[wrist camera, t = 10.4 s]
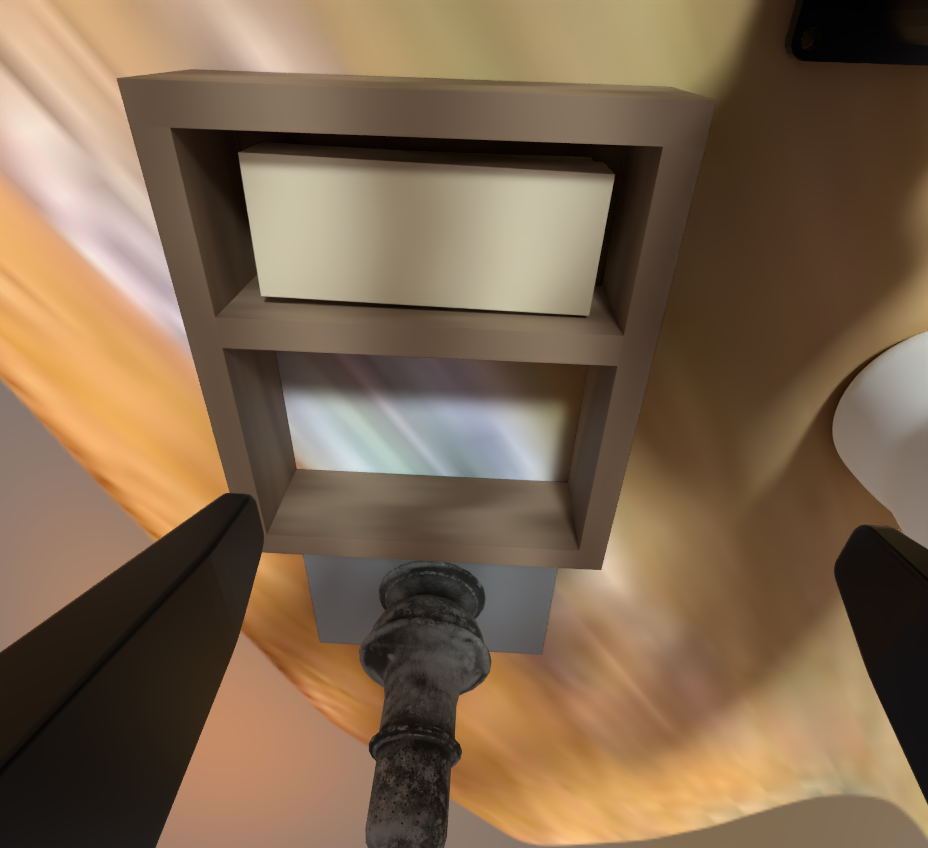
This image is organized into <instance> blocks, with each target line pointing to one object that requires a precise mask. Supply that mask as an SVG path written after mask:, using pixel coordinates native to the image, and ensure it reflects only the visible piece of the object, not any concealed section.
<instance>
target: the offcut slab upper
mask: <svg viewBox="0 0 928 848" xmlns="http://www.w3.org/2000/svg"><path fill="white" fill-rule="evenodd" d="M238 155H239V162H240V168H241V174H242V180H243V187H244V193H245V199H246V205H247V211H248V218H249V224H250V230H251V236H252V243H253V249H254V255H255V261H256V267H257V274H258V280H259V286H260V292H261V296H269V297H285V298H302V299H319V300H335V301H352V302H369V303H385V304H402V305H419V306H435V307H452V308H469V309H485V310H502V311H519V312H535V313H552V314H569V315H585V316H589V313H590V308H591V302H592V297H593V291H594V286H595V281H596V275H597V270H598V264H599V259H600V253H601V248H602V243H603V237H604V232H605V226H606V221H607V215H608V210H609V205H610V199H611V194H612V188H613V183H614V178H615V174H614V173H613V172H612V171H611V170H610V169H609V168H608V166H607V165H606V164H605V163H604V162H590V161H573V160H556V159H539V158H522V157H505V156H488V155H471V154H454V153H437V152H420V151H403V150H386V149H369V148H352V147H335V146H319V145H302V144H285V143H268V142H260V143H257V144H255V145H253V146H251V147H249V148H246V149H244V150H242V151H240V152H238Z"/></svg>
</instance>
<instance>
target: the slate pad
mask: <svg viewBox="0 0 928 848" xmlns="http://www.w3.org/2000/svg"><path fill="white" fill-rule="evenodd" d="M303 556H304V561H305V567H306V572H307V577H308V582H309V587H310V593H311V598H312V603H313V608H314V614H315V619H316V624H317V629H318V635H319V640H320V642H323V643H341V644H360V645H362V643H363V640H364V639H365V638H366V637H367V636H368V635H369V634H370V633H371V631H372V629H373V626H374V624H375V623H376V622H377V620H378V619H379V617H380V616H381V615H382V613H383V612H384V611H385V609H384V608H383V607H382V604H381V602H380V599H379V587H380V585H381V582H382V580H383V578H384V577H385V576H386V575H387V574H388V573H389V572H390V571H391V570H393V569H395V568H396V567H398V566H400V565H402V564H406V563H409V562H412V561H419V560H400V559H381V558H361V557H342V556H323V555H304V554H303ZM447 563H451V564H454V565H457V566H459V567H461V568H463V569H465V570H467V571H469V572H470V573H471V574H472V575H473V576H475V577H476V578H477V579H478V580H479V582H480V583H481V585H482V586H483V588H484V593H485V597H486V598H485V605H484V609H483V610H482V612H481V614H480V615H479V616H478V617H477V618H476V619H475V620H476V622H477V624H478V626H479V629H480V631H481V633H482V637H483V640H484V644H485V646H486V647H487V649H488V650H489V652H506V653H524V654H542V652H543V646H544V640H545V635H546V629H547V624H548V618H549V613H550V607H551V602H552V596H553V591H554V585H555V580H556V574H557V569H558V568H554V567H535V566H515V565H496V564H477V563H458V562H447Z"/></svg>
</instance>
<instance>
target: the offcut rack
mask: <svg viewBox="0 0 928 848" xmlns="http://www.w3.org/2000/svg"><path fill="white" fill-rule="evenodd" d="M117 81H118V85H119V89H120V92H121V96H122V100H123V103H124V107H125V111H126V114H127V118H128V122H129V125H130V129H131V133H132V136H133V140H134V144H135V147H136V151H137V155H138V158H139V162H140V166H141V169H142V173H143V177H144V180H145V184H146V188H147V191H148V195H149V199H150V202H151V206H152V210H153V213H154V217H155V221H156V224H157V228H158V232H159V235H160V239H161V243H162V246H163V250H164V254H165V257H166V261H167V265H168V268H169V272H170V275H171V279H172V283H173V286H174V290H175V294H176V297H177V301H178V305H179V308H180V312H181V316H182V319H183V323H184V327H185V330H186V334H187V338H188V341H189V345H190V349H191V352H192V356H193V360H194V363H195V367H196V371H197V374H198V378H199V382H200V385H201V389H202V393H203V396H204V400H205V404H206V407H207V411H208V415H209V418H210V422H211V426H212V429H213V433H214V437H215V440H216V444H217V448H218V451H219V455H220V459H221V462H222V466H223V470H224V473H225V477H226V481H227V484H228V488H229V492H230V493H242V494H250V495H252V496H254V498H255V500H256V502H257V506H258V510H259V515H260V519H261V523H262V527H263V531H264V545H263V550H262V552H265V553H284V554H304V555H323V556H342V557H361V558H381V559H400V560H419V561H438V562H458V563H477V564H496V565H515V566H535V567H554V568H573V569H592V570H601V568H602V564H603V560H604V556H605V552H606V548H607V544H608V540H609V536H610V532H611V528H612V524H613V520H614V516H615V512H616V507H617V503H618V499H619V495H620V491H621V487H622V483H623V479H624V475H625V471H626V467H627V463H628V459H629V455H630V451H631V447H632V442H633V438H634V434H635V430H636V426H637V422H638V418H639V414H640V410H641V406H642V402H643V398H644V394H645V390H646V386H647V381H648V377H649V373H650V369H651V365H652V361H653V357H654V353H655V349H656V345H657V341H658V337H659V333H660V329H661V325H662V321H663V316H664V312H665V308H666V304H667V300H668V296H669V292H670V288H671V284H672V280H673V276H674V272H675V268H676V264H677V260H678V255H679V251H680V247H681V243H682V239H683V235H684V231H685V227H686V223H687V219H688V215H689V211H690V207H691V203H692V199H693V195H694V190H695V186H696V182H697V178H698V174H699V170H700V166H701V162H702V158H703V154H704V150H705V146H706V142H707V138H708V134H709V129H710V125H711V121H712V117H713V113H714V109H715V105H716V100H713V99H710V98H706V97H703V96H700V95H696V94H693V93H690V92H686V91H683V90H680V89H676V88H673V87H656V86H629V85H602V84H574V83H547V82H520V81H492V80H465V79H438V78H411V77H383V76H356V75H329V74H301V73H274V72H247V71H219V70H192V69H191V70H183V71H174V72H166V73H157V74H149V75H141V76H132V77H124V78H117ZM236 130H245V131H271V132H297V133H323V134H349V135H375V136H400V137H426V138H452V139H478V140H504V141H530V142H556V143H582V144H608V145H626V151H625V156H624V162H623V168H622V174H621V179H620V185H619V191H618V197H617V202H616V208H615V214H614V220H613V225H612V231H611V237H610V243H609V248H608V254H607V260H606V266H605V271H604V277H603V283H602V285H595V286H594V291H593V297H592V302H591V308H590V313H589V316H585V315H569V314H552V313H535V312H519V311H502V310H485V309H469V308H452V307H435V306H419V305H402V304H385V303H369V302H352V301H335V300H319V299H302V298H285V297H269V296H261V292H260V286H259V280H258V274H257V267H256V261H255V255H254V249H253V243H252V236H251V230H250V224H249V218H248V211H247V205H246V199H245V193H244V187H243V180H242V174H241V168H240V162H239V155H238V152H239V146H238V140H237V135H236ZM275 350H277V351H299V352H321V353H343V354H365V355H387V356H409V357H430V358H452V359H474V360H496V361H518V362H540V363H562V364H584V365H588V369H587V375H586V380H585V386H584V392H583V398H582V403H581V409H580V415H579V421H578V426H577V432H576V438H575V444H574V449H573V455H572V461H571V467H570V472H569V478H568V482H548V481H528V480H508V479H487V478H467V477H447V476H427V475H406V474H386V473H366V472H345V471H325V470H305V469H296V464H295V459H294V453H293V448H292V442H291V436H290V431H289V425H288V420H287V414H286V409H285V403H284V397H283V392H282V386H281V381H280V375H279V369H278V364H277V358H276V353H275Z"/></svg>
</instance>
